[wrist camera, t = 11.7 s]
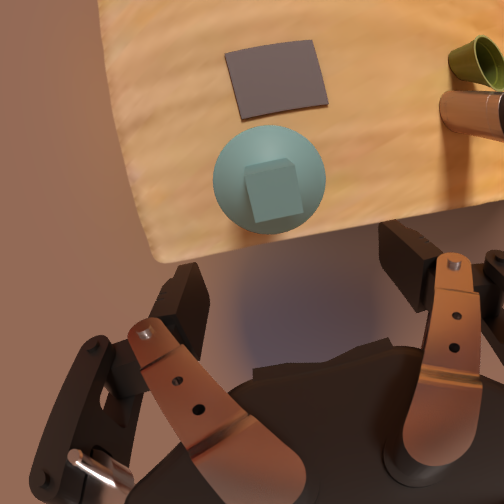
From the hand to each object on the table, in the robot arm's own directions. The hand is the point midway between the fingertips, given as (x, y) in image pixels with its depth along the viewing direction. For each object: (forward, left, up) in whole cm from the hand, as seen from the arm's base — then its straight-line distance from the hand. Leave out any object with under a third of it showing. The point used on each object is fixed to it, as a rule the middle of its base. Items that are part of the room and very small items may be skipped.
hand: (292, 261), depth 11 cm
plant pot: (-48, -16, -37) cm, 63 cm away
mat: (-6, -14, -37) cm, 40 cm away
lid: (0, 0, -17) cm, 17 cm away
